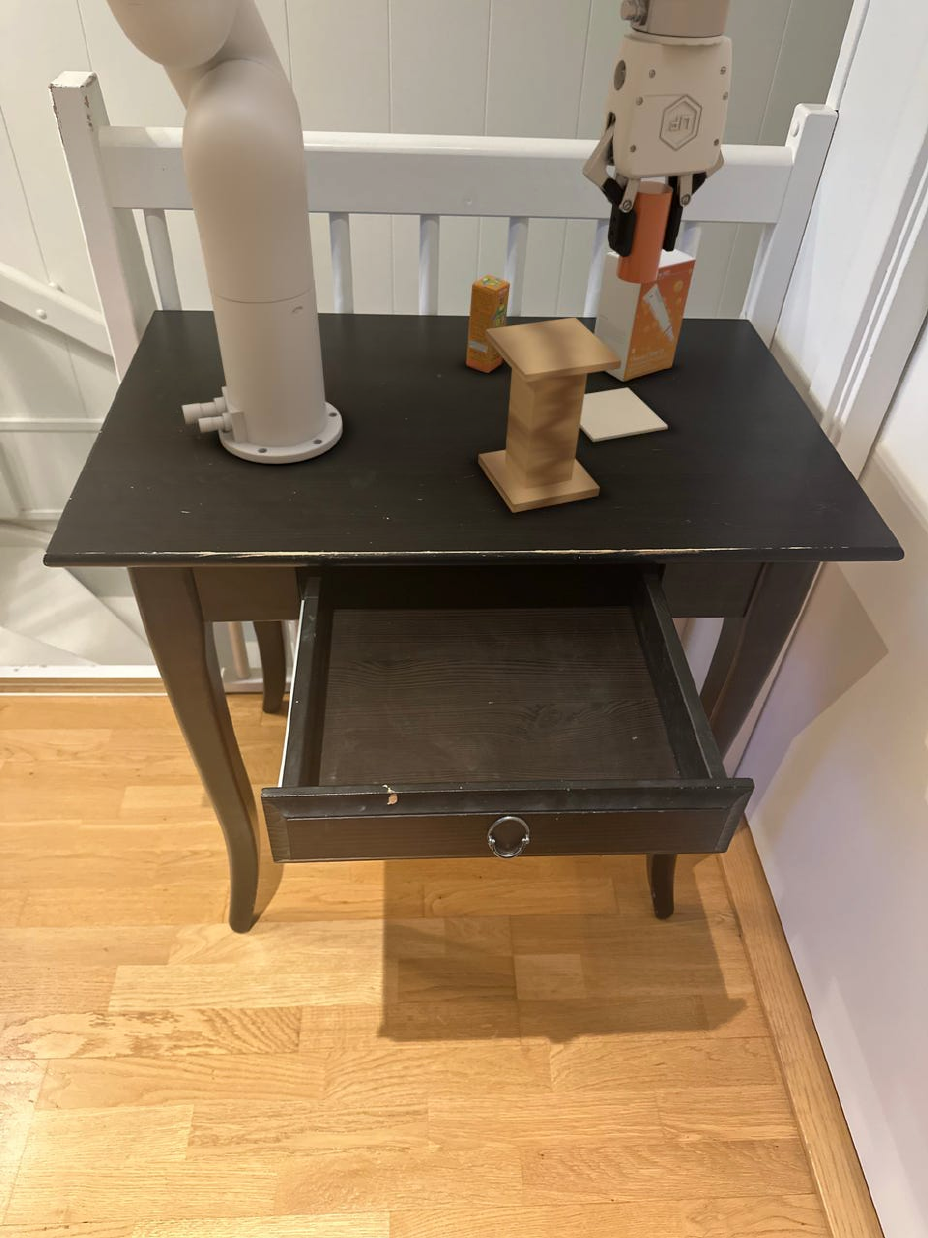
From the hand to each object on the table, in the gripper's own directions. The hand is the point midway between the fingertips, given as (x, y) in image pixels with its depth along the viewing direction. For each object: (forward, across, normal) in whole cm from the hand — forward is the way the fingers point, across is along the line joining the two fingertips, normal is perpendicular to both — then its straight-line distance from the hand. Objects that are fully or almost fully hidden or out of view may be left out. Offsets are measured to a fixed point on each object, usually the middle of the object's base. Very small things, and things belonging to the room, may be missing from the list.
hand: (641, 247), depth 80 cm
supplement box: (+18, -9, +15) cm, 25 cm away
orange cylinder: (+3, 0, 0) cm, 3 cm away
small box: (+18, +8, +10) cm, 22 cm away
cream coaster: (+18, 0, 0) cm, 18 cm away
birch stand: (+18, -13, -9) cm, 24 cm away
